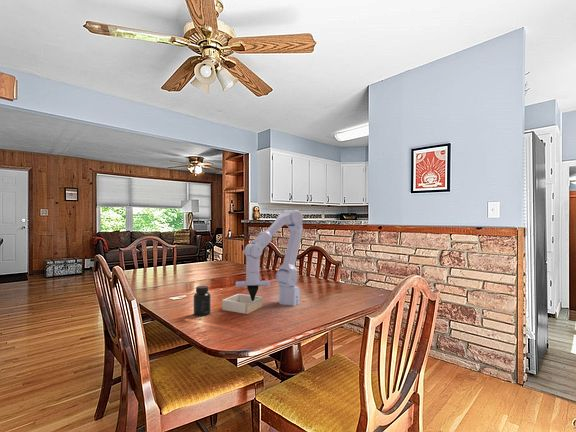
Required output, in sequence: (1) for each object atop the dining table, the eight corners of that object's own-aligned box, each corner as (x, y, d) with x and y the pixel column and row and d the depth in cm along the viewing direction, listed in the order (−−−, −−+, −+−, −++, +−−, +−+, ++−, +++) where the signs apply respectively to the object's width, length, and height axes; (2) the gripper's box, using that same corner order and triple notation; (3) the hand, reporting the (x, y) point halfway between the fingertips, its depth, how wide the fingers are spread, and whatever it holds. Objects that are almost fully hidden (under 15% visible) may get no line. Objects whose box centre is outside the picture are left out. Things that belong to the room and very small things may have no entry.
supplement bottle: (190, 315, 129) (190, 286, 129) (205, 311, 134) (205, 284, 134) (198, 319, 124) (198, 289, 124) (213, 315, 129) (213, 286, 129)
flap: (262, 306, 139) (262, 297, 139) (247, 313, 129) (248, 303, 129) (261, 306, 140) (261, 296, 140) (246, 313, 129) (246, 303, 129)
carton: (260, 307, 140) (260, 296, 140) (245, 315, 129) (245, 303, 129) (238, 304, 145) (238, 293, 145) (222, 311, 135) (222, 299, 135)
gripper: (269, 269, 139) (269, 299, 140) (236, 270, 138) (236, 300, 138) (270, 272, 132) (270, 304, 133) (235, 273, 131) (235, 305, 131)
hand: (252, 302), depth 135 cm, fingers closed, pressing on flap
